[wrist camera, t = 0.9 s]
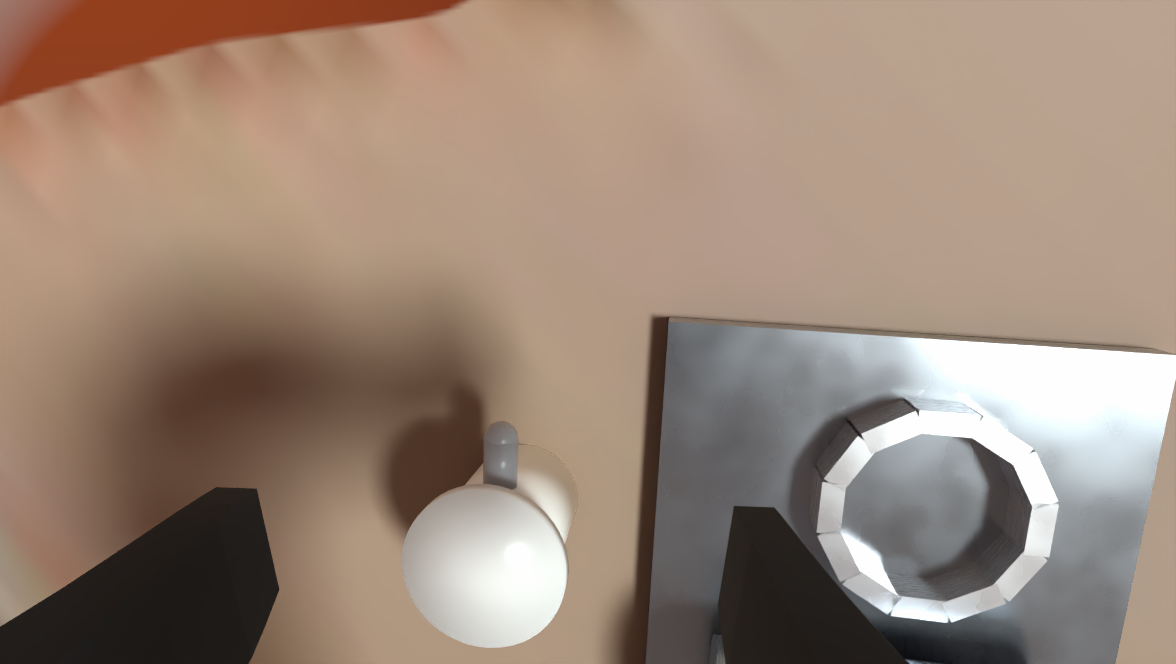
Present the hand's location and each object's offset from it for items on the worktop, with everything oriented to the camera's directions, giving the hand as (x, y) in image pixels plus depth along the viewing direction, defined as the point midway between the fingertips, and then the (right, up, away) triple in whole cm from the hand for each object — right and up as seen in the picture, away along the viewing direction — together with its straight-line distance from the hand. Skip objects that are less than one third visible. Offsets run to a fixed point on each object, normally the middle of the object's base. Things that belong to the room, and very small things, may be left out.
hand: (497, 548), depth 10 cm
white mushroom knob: (-1, -4, +17) cm, 18 cm away
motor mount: (+13, -6, +16) cm, 21 cm away
